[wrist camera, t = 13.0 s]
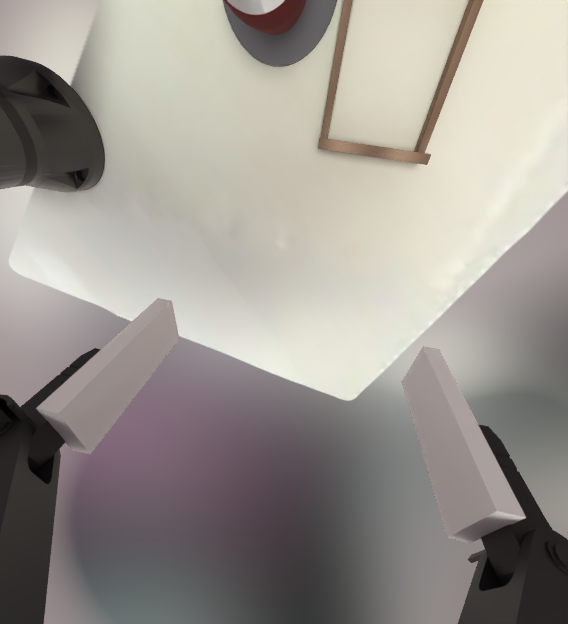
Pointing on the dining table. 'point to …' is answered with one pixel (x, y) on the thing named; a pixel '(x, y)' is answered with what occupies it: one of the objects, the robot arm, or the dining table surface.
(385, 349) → the dining table surface
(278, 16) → the mug
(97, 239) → the dining table surface
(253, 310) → the dining table surface
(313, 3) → the coaster
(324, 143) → the wooden tray frame
